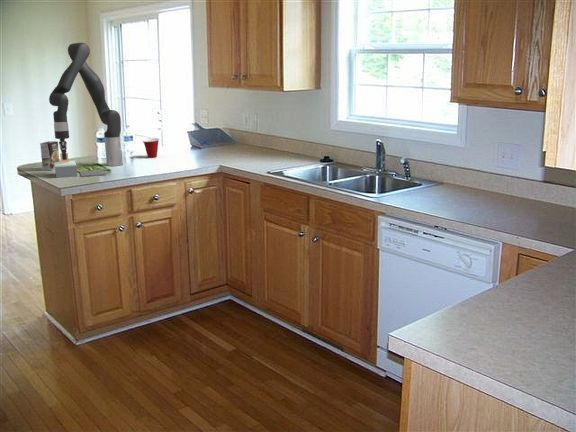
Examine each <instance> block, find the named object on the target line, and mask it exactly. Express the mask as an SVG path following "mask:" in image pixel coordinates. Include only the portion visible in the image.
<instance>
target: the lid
mask: <svg viewBox="0 0 576 432" xmlns="http://www.w3.org/2000/svg"><path fill="white" fill-rule="evenodd" d="M66 157H67V159H66V160H63V159H62V153H61V152H59V158H60V162H54V164H55V167H65V166H76V167H77V163H76V160H69V153H68V152H66Z"/></svg>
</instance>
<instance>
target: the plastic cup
mask: <svg viewBox="0 0 576 432" xmlns="http://www.w3.org/2000/svg"><path fill="white" fill-rule="evenodd" d="M159 140H160V138H158V137H157V138H156V137H155V138H154V137H153V138H146V139H143V140H142V143H143V144H144V148H145V152H146V155H147V158H148V159H156V158H157V157H158V150H159V149H158V148H159Z"/></svg>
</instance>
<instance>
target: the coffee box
mask: <svg viewBox="0 0 576 432" xmlns="http://www.w3.org/2000/svg"><path fill="white" fill-rule="evenodd" d="M39 144H40V154H41V156H40V157H41V165H42V171H49V172H52V171H55V164H54V162H61V158H60V148H59V141H56V140H55V141H53V140H52V141H44V142H40V143H39Z"/></svg>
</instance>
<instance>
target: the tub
mask: <svg viewBox="0 0 576 432" xmlns="http://www.w3.org/2000/svg"><path fill="white" fill-rule="evenodd" d="M77 170H78V169H77V165H76V166H65V167H55V170H54V172H55V177H56V178H57V179H59V178H60V179H61V178H70V177H73V178H75V177H78V171H77Z"/></svg>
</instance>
